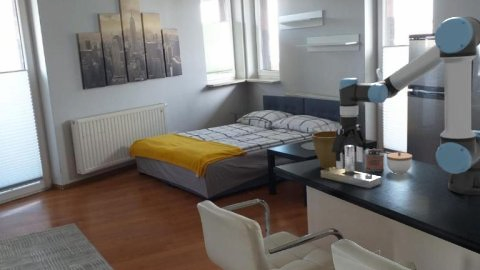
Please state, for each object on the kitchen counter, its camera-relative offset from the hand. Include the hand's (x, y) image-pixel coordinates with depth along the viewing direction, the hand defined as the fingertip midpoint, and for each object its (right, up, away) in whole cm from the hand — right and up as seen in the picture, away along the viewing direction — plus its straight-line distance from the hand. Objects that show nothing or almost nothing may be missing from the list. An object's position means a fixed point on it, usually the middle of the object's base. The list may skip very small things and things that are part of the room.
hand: (349, 165), depth 205 cm
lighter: (+14, -3, +14) cm, 20 cm away
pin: (0, -7, +1) cm, 7 cm away
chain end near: (+4, -7, -3) cm, 8 cm away
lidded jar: (+24, -4, +9) cm, 26 cm away
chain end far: (-3, -6, +5) cm, 8 cm away
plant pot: (-4, -3, +24) cm, 25 cm away
